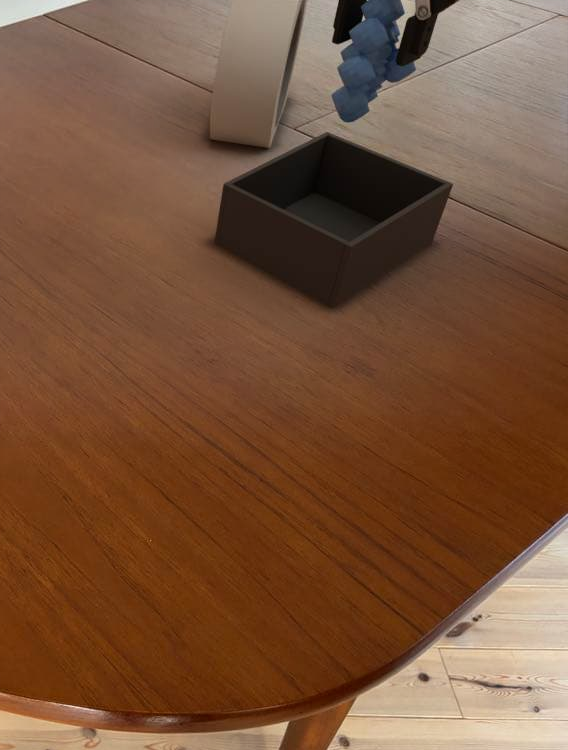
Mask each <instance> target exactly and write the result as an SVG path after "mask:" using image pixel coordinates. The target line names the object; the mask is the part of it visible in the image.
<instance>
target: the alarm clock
mask: <svg viewBox="0 0 568 750" xmlns="http://www.w3.org/2000/svg"><path fill="white" fill-rule="evenodd" d="M307 5H308V0H230V4H229V7H228V12H227V15H226V18H225V24H224V28H223V33H222V37H221V43H220V47H219V52H218V53H219V54H218V57H217V64H216V69H215V74H214V75H215V76H214V82H213V87H212V88H213V89H212V95H211V97H212V98H211V106H210V119H209V120H210V121H209V135H210V139H211V140H212V141H219V142H225V143H234V144H238V145H246V146H253V147H259V148H266V149H270V148H271V146H272V142H273V140H274V137H275V134H276V133H277V132H276V131H277V128H278V126H279V123H280V120H281V118H282V114H283V112H284V108H285V106H286V103H287V99H288V95H289V91H290V88H291V87H290V86H291V82H292V77H293V74H294V69H295V65H296V60H297V56H298V53H299V46H300V42H301V37H302V33H303V26H304V21H305V16H306V12H307Z"/></svg>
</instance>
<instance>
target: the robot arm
mask: <svg viewBox="0 0 568 750" xmlns="http://www.w3.org/2000/svg"><path fill="white" fill-rule="evenodd" d="M367 1H368V0H338V2H337V6H336V11H335V15H334V20H333V25H332V27H333V29H334V30H333V35H332V38H331V43H332V44H334V45H338V46H339V45H341V44H343V43H347V42H348V41H350V40H351V37H350V33H349V31H350V30H352V29H353V28H354V27H355V26H356V25H358V24H359V23H361V22H362V21H363V18H364V15H363V12H362V9H361V6H362V5H363V4H364V3H366V2H367ZM459 1H460V0H414V3H415V4H414V5H415V11H414V15H412V16H409V17H408V18H407V19H406V21H405V25H404V28H403V33H402V37H401V40H400V43H399V46H398V48H399V50H398V54H397V57H396V63H397V65H399V66H402V67H403V66H405V65H407V64H409V63H411V62H414V63H415V62H416V61H417V60H419V59H421V58H422V56H424V55H425V54H426V52H428V49H429V46H430V43H431V39H432V36H433V32H434V31H435V30H434V29H435V26H436V24H437V19H438V17H439V14H440V13H443V12H444V11H446V10H447V9H449V8H450V7H452V6H453V5H455V4H457V3H458V2H459Z"/></svg>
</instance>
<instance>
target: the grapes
mask: <svg viewBox="0 0 568 750" xmlns="http://www.w3.org/2000/svg"><path fill="white" fill-rule="evenodd" d="M361 9H362V12H363V18H364V20H362V22H361V23H359V24H358V25H356V26H355V27H354V28H353V29H352V30H350V31H349V33H350V37H351V39H350V40H351V43H350V44H349V45H347V46H345V47H344V48H343V49H342V50H341V51H340V56H341V59H342V62H341V63H340V64H339V65H338V66H337V67H336V69H337V72H338V75H339V77H340V80H341V82H342V84H343V86H341V87H339V88H338V89H336V90H335V91H334V92H333V93H331V95H330V97H331V99H332V103H333V105H334V108H335V111H336V112H337V115H338V117H339V119H340V120H342V122H344V123H349V124H350V123H354V122H355V121H357V120H359V119H361V118H362V117H364V116H365V115H367V114H368V113H370V111H371V110H370V108H369V103H372V102H373V101H374V100H375V99H377V98H378V97H379V94H378V91H379V90H380V89H382V88H383V85H382V84H383V83H385V82H386V81H387V82H388V83H391V84H393V83H400V82H401V81H402V80H404V79H406V78H407V77H409V76H411V75H412V74H413V73H414V72H416V71H417V68H416V64H415V61H414V62H411V63H409V64H407V65H405V66H403V67H402V66H399V65H397V63H396V57H397V54H398V50H399V47H398V48H397V45H396V44H397V43H398V42H400V39H399V36H401V32H400V28H399V26H398V23H397V21H398V20H400V19H401V18H402V17H403V16H404V15H405V14H406V12H405V8H404V5H403V3H402V0H367V2H366V3H364V4H363V5H362V6H361Z"/></svg>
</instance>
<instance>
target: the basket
mask: <svg viewBox="0 0 568 750" xmlns="http://www.w3.org/2000/svg"><path fill="white" fill-rule="evenodd" d="M453 187H454V183H452V182H450V181H448V180H445V179H443V178H440V177H438V176H435V175H433V174H430V173H428V172H426V171H423V170H421V169H419V168H416V167H414V166H411V165H410V164H407V163H404V162H402V161H400V160H396V159H394V158H392V157H390V156H387V155H384V154H382V153H379V152H378V151H375V150H372V149H370V148H367V147H365V146H362V145H360V144H358V143H356V142H353V141H351V140H349V139H346V138H343V137H342V136H338V135H336V134H334V133H331V132H329V131H325V132H323V133H321V134H320V135H317V136H316V137H314V138H312V139H309V140H308V141H305V142H304V143H302V144H300V145H297V146H296V147H294V148H292V149H290V150H287V151H286V152H283V153H282V154H280V155H278V156H276V157H273V158H272V159H270V160H268V161H266V162H264V163H262V164H260V165H258V166H256V167H254V168H252V169H250V170H248V171H246V172H244V173H242V174H240V175H238V176H236V177H233V178H232V179H230V180H228V181H226V182H225V183H223V184H222V191H221V197H220V202H219V203H220V204H219V208H218V209H219V210H218V216H217V223H216V229H215V236H214V244H215V245H216V246H219V247H220V248H222V249H224V250H226V251H228V252H229V253H232V254H233V255H235V256H237V257H238V258H240V259H243V260H244V261H246V262H248V263H249V264H252V265H253V266H255V267H257V268H258V269H260V270H262V271H264V272H266V273H267V274H270V275H271V276H273V277H275V278H277V279H279V280H281V282H284V283H286V284H287V285H290V286H291V287H293V288H295V289H297V290H299V291H300V292H303V293H304V294H306V295H307V296H309V297H311V298H313V299H315V300H317V301H319V302H320V303H322V304H324V305H326V306H328V307H329V308H331V309H335V308H338V306H340V305H342V304H343V303H344V302H346V301H348V300H349V299H351V298H352V297H353V296H355V295H356V294H358V293H359V292H361V291H362V290H364V289H366V288H367V287H368V286H371V284H374V282H376V281H378V280H379V279H380V278H382V277H384V276H385V275H387V274H388V273H390V272H391V271H393V270H394V269H396V268H397V267H399V266H400V265H402V264H403V263H405V262H406V261H408V260H409V259H412V258H413V257H414V256H415V255H417V254H418V253H420V252H422V251H423V250H425V249H426V248H428V247H429V246H432V244H433V241H434V238H435V236H436V234H437V230H438V228H439V225H440V223H441V219H442V217H443V214H444V211H445V208H446V205H447V203H448V200H449V197H450V194H451V192H452V189H453Z"/></svg>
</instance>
